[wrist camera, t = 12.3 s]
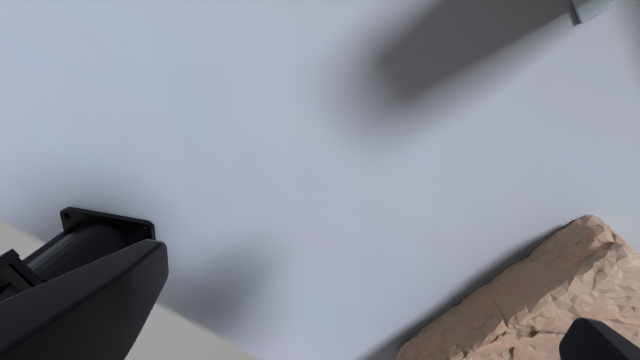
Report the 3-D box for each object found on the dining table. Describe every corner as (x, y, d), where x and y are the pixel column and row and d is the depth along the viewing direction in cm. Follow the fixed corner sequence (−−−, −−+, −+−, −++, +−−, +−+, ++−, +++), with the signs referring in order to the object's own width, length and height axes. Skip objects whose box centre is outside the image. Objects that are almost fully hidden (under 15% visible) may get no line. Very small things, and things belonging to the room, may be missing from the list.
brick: (582, 204, 20) (640, 253, 16) (669, 281, 22) (743, 345, 17) (388, 343, 27) (393, 404, 23) (464, 395, 28) (482, 461, 24)
